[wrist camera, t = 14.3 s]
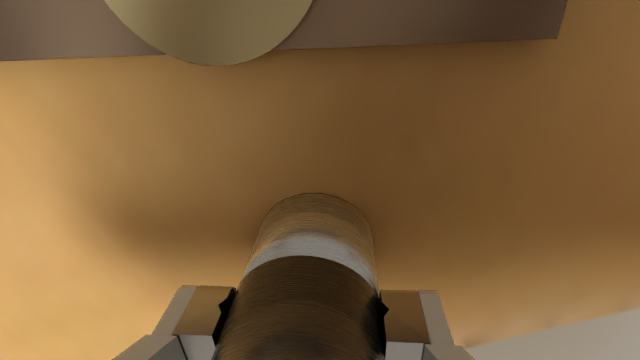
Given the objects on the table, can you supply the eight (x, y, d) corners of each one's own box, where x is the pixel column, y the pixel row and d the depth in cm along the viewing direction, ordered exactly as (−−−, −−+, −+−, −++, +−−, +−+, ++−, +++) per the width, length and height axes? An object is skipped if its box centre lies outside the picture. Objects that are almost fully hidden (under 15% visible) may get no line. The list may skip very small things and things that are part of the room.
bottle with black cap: (267, 281, 13) (174, 612, 6) (253, 193, 11) (91, 528, 4) (371, 283, 13) (400, 638, 6) (374, 193, 11) (424, 558, 4)
